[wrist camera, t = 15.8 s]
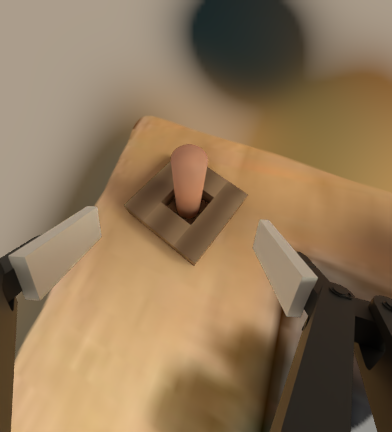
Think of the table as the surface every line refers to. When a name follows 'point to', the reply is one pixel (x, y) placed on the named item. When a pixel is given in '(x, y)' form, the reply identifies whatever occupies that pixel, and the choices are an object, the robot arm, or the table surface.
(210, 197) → the socket block
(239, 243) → the table surface
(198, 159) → the pin
